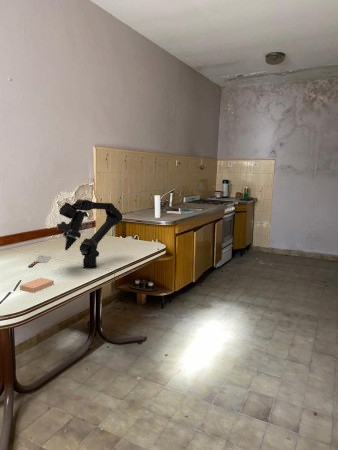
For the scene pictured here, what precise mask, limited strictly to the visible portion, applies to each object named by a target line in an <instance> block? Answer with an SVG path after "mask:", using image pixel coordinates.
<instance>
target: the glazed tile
mask: <svg viewBox="0 0 338 450" xmlns="http://www.w3.org/2000/svg"><path fill="white" fill-rule="evenodd" d="M54 282H55V281H54V280H53V279H48V278H45V277H38V278H35V279H34V280H30V281H27V282H26V283H23V284H20V285H19V290H20V291H24V292H29V293H32V294H33V293H36V292H39V291H41V290H44V289H46V288H48V287H51V286H53V285H54V284H55V283H54Z"/></svg>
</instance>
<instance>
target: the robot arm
mask: <svg viewBox="0 0 338 450" xmlns="http://www.w3.org/2000/svg"><path fill="white" fill-rule="evenodd" d="M92 210H105V215H106V218H105V221H104V223H103V224H102V225H101V226H100V227H99V228H98V229H97V230H96V231H95V233H94V234H93V235H92V236H91V238H84V240H83V241H81V243H80V245H79V252H80V254H81V255H82V256H83V259H82V265H83V266H82V267H83V269H96V268H97V266H98V264H97V257H99V255H100V252H99V251H98V250H97V249H98V245H99V243H100V242H101V240H102V239H104V237H105V236H106V235H107V234H108V232H109V231H110V230H111V229H112V228H113V227H114V226H117V225H119V224H120V222H122V220H123V215H122V213H121V211H120V210H119V209H118V208H117V207H116V206H115V205H114V203H112V202H99V201H97V202H95V201H92V200H89V199H81V198H80V199H77V200H76V201H75V202H74V203H73V204H70V203H69V202H65V203H64V204H63V205H62V206H61V207H60V209H59V215H61V216H62V217H65V218H68V219H69V220H70V221H69V222H68V223H67V222H66V221H61V222H60V223H57V224H56V231H64V232H63V233H62V236H63V237H64V238H65V245H64V250H65V251H68V250H69V249H70V248H71V247H72V246H73V244H75V242H77V240H78V239H81V236H82V234H81V232H80V230H81V228H82V227H83V221H84V218H88V217H89V215H88V211H92ZM77 238H78V239H77Z"/></svg>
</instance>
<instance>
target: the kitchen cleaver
mask: <svg viewBox="0 0 338 450" xmlns="http://www.w3.org/2000/svg"><path fill="white" fill-rule="evenodd" d="M37 257H38V258H36V259H35V260H34V261H33V262H31V263H30V264H29V265H28V266H27V268H29V269H31V268H33V267H34V266H36V265H37V264H48V262H49V261H51V259H52V257H53V256H51V255H38V256H37Z"/></svg>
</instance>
